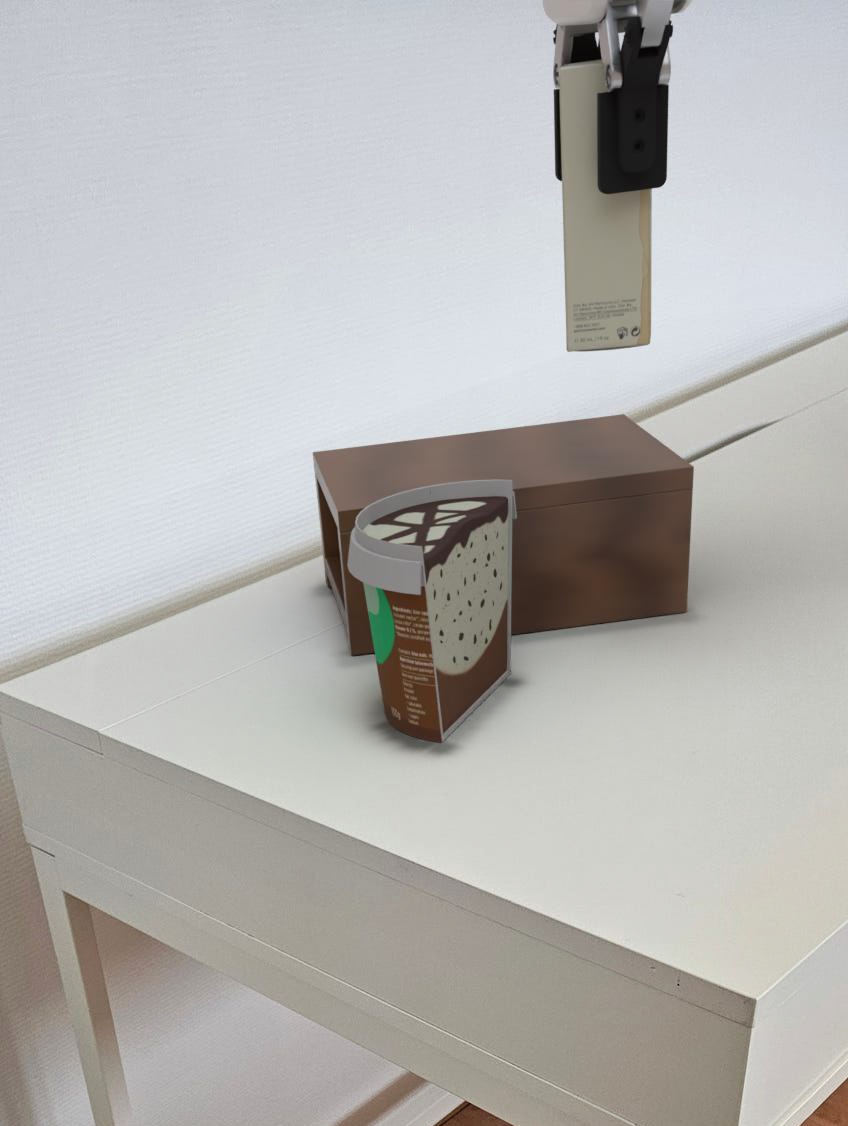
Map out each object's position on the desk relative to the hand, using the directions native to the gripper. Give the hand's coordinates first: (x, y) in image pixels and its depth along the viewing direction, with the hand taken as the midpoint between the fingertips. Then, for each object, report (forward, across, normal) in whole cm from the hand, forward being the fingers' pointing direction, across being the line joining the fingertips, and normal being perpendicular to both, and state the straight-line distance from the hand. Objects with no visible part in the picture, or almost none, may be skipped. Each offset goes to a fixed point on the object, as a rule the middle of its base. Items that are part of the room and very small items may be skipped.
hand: (608, 180), depth 69 cm
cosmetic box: (+7, 0, 0) cm, 7 cm away
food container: (+22, -8, +12) cm, 27 cm away
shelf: (+22, +7, +5) cm, 24 cm away
